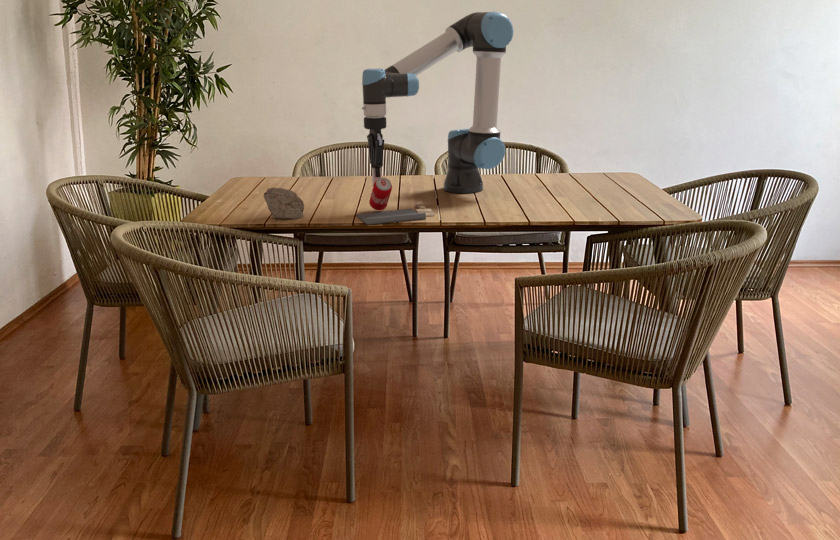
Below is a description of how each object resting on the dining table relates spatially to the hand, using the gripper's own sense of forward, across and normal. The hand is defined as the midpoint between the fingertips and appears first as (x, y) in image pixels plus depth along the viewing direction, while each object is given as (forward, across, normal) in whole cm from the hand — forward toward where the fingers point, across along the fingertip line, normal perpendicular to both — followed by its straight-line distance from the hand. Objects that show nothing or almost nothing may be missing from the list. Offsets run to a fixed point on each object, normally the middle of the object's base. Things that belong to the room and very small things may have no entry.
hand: (376, 185), depth 273 cm
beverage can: (+7, 0, 0) cm, 7 cm away
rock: (+9, -3, -32) cm, 33 cm away
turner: (+9, +7, +14) cm, 18 cm away
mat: (+9, +11, +1) cm, 14 cm away
